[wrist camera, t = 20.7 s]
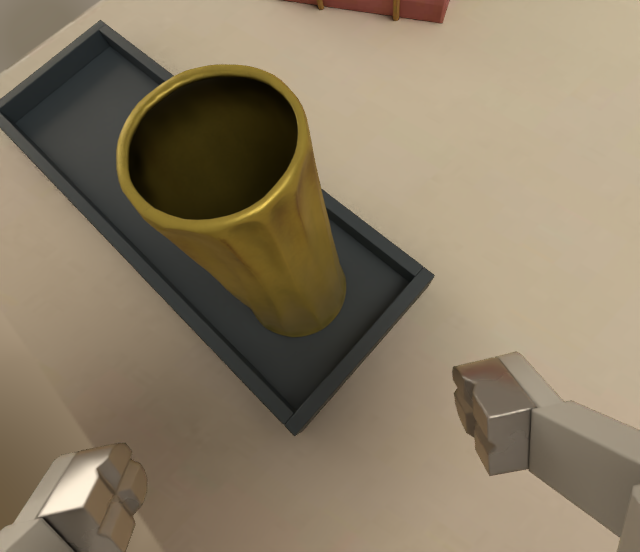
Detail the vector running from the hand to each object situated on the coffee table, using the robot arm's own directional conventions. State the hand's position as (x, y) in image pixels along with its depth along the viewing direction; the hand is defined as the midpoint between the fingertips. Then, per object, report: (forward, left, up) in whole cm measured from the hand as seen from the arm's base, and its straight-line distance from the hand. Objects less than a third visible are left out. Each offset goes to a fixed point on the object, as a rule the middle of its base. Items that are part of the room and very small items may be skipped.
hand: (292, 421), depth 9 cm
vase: (+7, +1, -13) cm, 15 cm away
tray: (+16, +7, -13) cm, 22 cm away
